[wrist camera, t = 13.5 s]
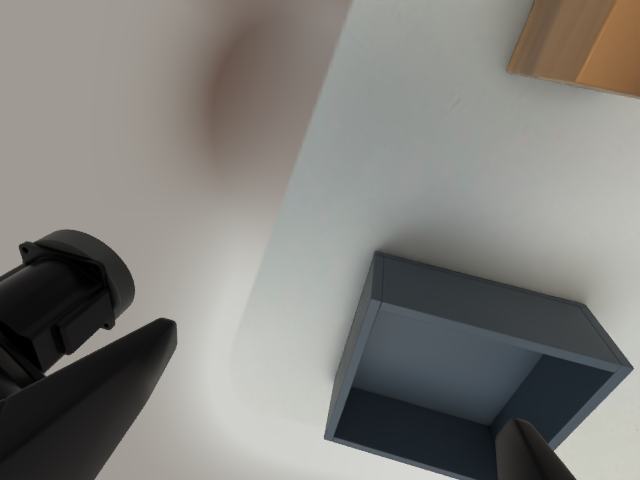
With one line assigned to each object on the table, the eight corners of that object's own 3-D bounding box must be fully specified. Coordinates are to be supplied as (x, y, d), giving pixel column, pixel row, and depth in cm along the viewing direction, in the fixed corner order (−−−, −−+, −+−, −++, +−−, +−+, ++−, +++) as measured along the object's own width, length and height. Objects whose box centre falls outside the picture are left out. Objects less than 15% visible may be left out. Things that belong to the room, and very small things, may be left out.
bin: (334, 382, 28) (323, 439, 24) (375, 250, 22) (370, 298, 18) (492, 427, 27) (510, 495, 23) (585, 304, 21) (635, 368, 17)
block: (505, 71, 16) (572, 83, 10) (555, -51, 14) (682, -132, 8) (603, 92, 16) (736, 117, 10) (672, -30, 13) (901, -98, 7)
